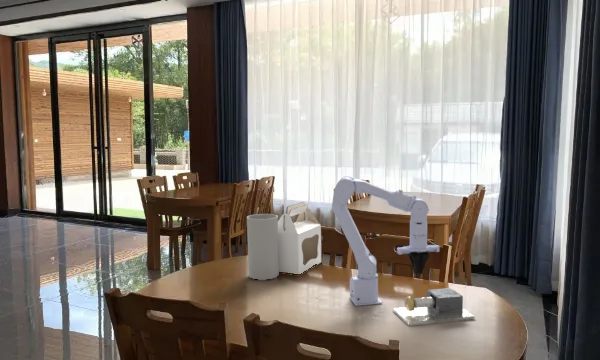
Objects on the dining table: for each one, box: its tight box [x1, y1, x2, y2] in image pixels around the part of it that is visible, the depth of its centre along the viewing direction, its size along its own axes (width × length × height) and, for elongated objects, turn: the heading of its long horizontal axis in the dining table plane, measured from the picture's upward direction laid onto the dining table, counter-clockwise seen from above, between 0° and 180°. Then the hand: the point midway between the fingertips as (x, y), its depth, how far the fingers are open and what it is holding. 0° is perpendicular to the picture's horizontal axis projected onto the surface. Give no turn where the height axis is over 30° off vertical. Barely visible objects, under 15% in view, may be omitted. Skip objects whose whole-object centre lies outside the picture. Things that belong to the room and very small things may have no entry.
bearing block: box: [392, 287, 476, 327], centre depth 150 cm, size 22×12×7 cm, turn 101°
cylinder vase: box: [246, 213, 280, 281], centre depth 192 cm, size 12×12×25 cm
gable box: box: [278, 201, 322, 275], centre depth 205 cm, size 22×13×28 cm, turn 152°
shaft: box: [404, 295, 436, 311], centre depth 149 cm, size 15×4×4 cm, turn 101°
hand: (418, 273), depth 160 cm, fingers closed
